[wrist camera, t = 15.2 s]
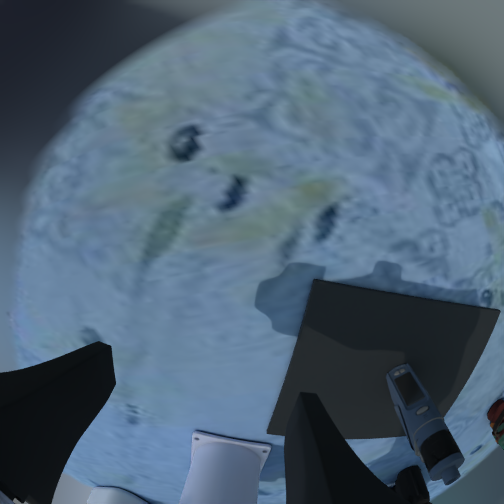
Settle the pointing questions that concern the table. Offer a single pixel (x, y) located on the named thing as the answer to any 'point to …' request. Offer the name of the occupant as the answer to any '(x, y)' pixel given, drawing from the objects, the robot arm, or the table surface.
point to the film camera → (412, 486)
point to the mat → (379, 355)
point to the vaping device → (424, 425)
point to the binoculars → (497, 421)
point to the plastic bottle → (113, 496)
